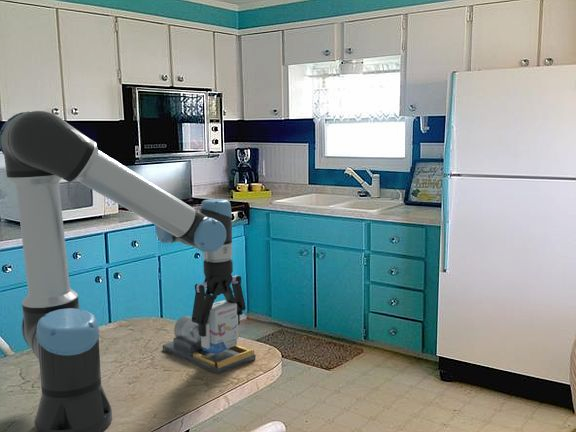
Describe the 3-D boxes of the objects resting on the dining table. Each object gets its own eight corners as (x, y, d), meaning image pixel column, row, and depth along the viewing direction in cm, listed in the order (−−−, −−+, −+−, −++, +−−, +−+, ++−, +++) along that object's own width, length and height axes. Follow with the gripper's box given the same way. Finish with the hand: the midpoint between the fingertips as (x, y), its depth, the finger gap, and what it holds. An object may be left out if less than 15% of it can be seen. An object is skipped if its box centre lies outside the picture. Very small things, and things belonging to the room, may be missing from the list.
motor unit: (217, 374, 148) (216, 341, 147) (162, 350, 165) (161, 320, 164) (255, 359, 158) (254, 328, 156) (200, 337, 174) (199, 309, 173)
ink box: (215, 354, 152) (214, 310, 150) (202, 350, 155) (200, 306, 153) (238, 345, 159) (237, 302, 157) (224, 341, 162) (223, 299, 160)
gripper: (192, 268, 143) (195, 357, 146) (258, 254, 158) (259, 335, 162) (174, 263, 148) (177, 349, 152) (240, 250, 164) (241, 329, 167)
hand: (220, 342), depth 157 cm, fingers closed on ink box, 9 cm apart
